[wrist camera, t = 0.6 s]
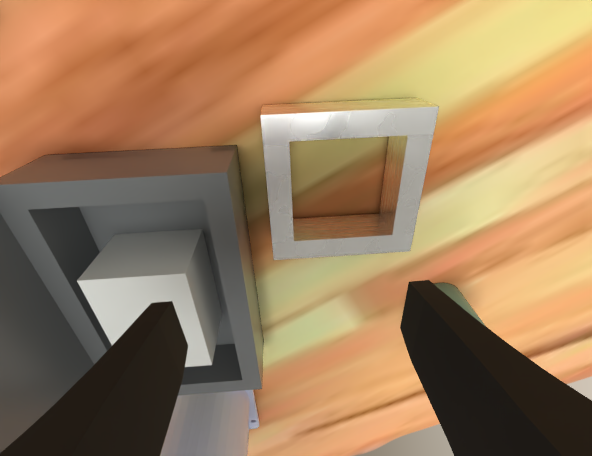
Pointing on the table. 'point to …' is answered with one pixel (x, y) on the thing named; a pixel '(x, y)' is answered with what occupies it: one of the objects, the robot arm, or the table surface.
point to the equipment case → (122, 270)
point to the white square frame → (396, 184)
